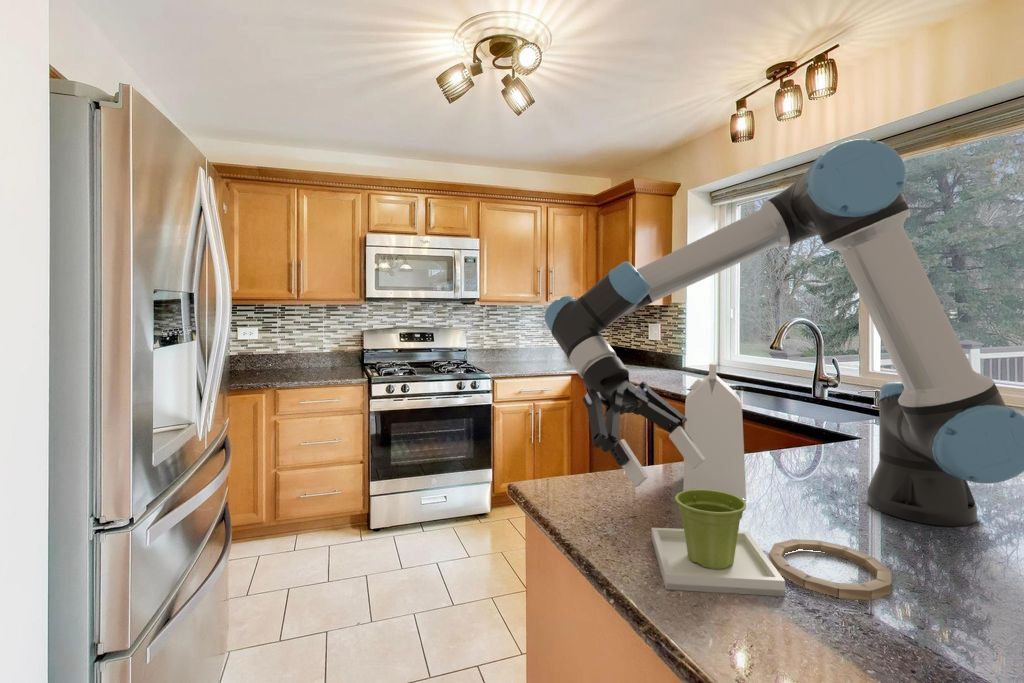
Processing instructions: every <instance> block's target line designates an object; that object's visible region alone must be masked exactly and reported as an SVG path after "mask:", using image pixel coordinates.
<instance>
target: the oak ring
mask: <svg viewBox="0 0 1024 683" xmlns="http://www.w3.org/2000/svg"><path fill="white" fill-rule="evenodd" d="M798 549H803V550H813V551H821V552H825V553H828V554H827V555H829V554H832V555H831V556H833V555H836V556H835V557H837V556H840V557H839V558H842V557H845V558H846V560H847V559H849V560H848V561H850V560H851V561H850V562H852V561H853V563H854V562H855V563H854V564H856V563H857V565H859V566H861V567H864V568H865V569H867V570H868V571H869V573H871V574H872V575H873V576H874V577H876V579H872V580H869V581H867V582H863V583H849V582H848V583H847V582H835V581H832V580H828V579H824V578H819V577H815V576H813V575H809V574H808V573H805V572H803V571H801V570H799V569H797V568H796V567H793V566H792V565H790V564H789V563H788V561H787V560H786V559H785V557H784V555H785V553H788V552H792V551H796V550H798ZM825 553H824V554H825ZM785 556H786V555H785ZM783 557H784V558H783ZM845 558H844V559H845ZM768 559H769V560H770V561H771V563H772V564H773V565H774V567H775V568H776V569H777V571H778V572H779V573H780V575H782V576H783V578H784V577H785V578H784V579H786V578H787V579H790V580H791V581H793V582H795V583H796V584H795V583H794V584H795V585H797V584H798V585H800V586H802V587H803V588H802V587H801V588H802V589H805V588H806V589H805V590H807V589H809V590H808V591H811V590H813V591H812V592H815V591H817V592H816V593H818V592H819V594H822V593H825V594H827V595H826V596H829V595H832V596H835V597H834V598H836V597H837V598H836V599H844V598H845V599H847V600H862V601H864V600H865V601H873V600H875V599H879V598H882V597H884V596H887V595H890V594H891V593H892V586H893V585H892V584H893V583H892V582H893V581H892V580H893V576H892V575H893V572H892V570H891V569H889V568H888V567H887V566H885V565H884V564H883V563H882V562H881V561H879V560H878V559H877V558H876V557H873V556H871V555H869V554H866V553H864V552H861V551H859V550H857V549H855V548H852V547H849V546H846V545H841V544H836V543H833V542H827V541H824V540H817V539H799V538H798V539H795V538H794V539H786V540H784V541H780V542H776V543H774V544H773V546H772V547H771V549H770V551H769V553H768ZM787 579H786V580H787ZM791 581H790V582H791ZM793 582H792V583H793ZM798 585H797V586H798ZM800 586H799V587H800ZM804 587H805V588H804ZM825 594H824V595H825ZM832 596H831V597H832ZM838 597H839V598H838Z"/></svg>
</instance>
